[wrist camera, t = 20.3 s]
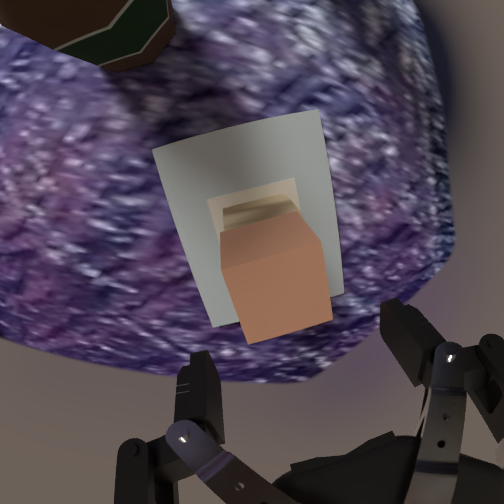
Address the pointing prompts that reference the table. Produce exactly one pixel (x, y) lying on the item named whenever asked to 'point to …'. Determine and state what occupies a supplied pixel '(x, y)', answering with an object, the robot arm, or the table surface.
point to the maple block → (257, 211)
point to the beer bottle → (95, 28)
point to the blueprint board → (247, 192)
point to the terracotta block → (275, 276)
